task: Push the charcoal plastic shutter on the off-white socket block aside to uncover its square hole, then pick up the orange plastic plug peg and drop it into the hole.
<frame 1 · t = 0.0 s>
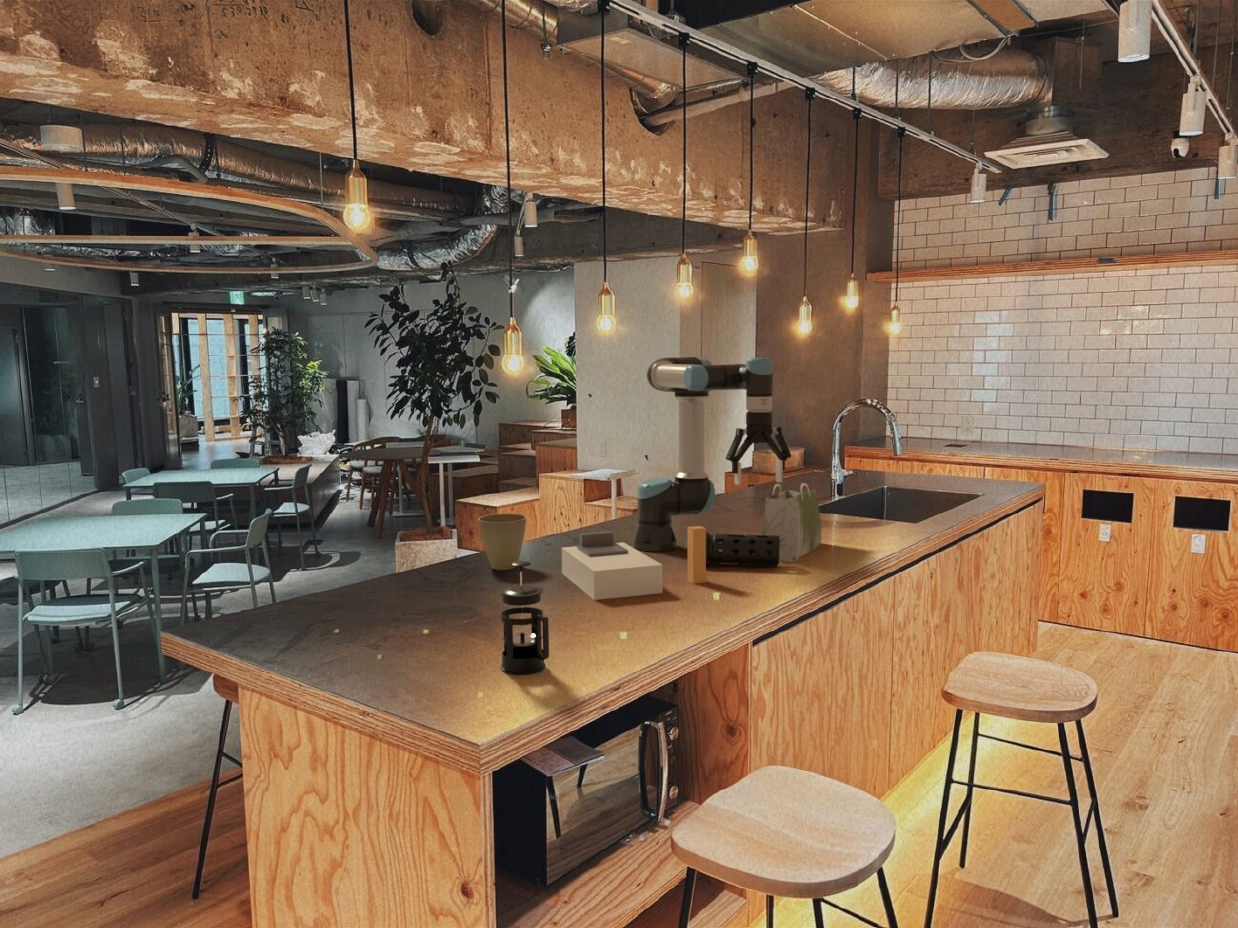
hand: (758, 483, 265), 28 cm above the table, tool pointing down, fingers open, 13 cm apart
french press: (525, 668, 193), on the table
plug peg: (696, 581, 263), on the table
socket block: (610, 582, 263), on the table
shutter: (602, 543, 268), point 10 cm above the table, slide at 0.0 cm
grocery bag: (789, 551, 303), on the table
plant pot: (503, 568, 283), on the table
muzzle brake: (733, 566, 283), on the table
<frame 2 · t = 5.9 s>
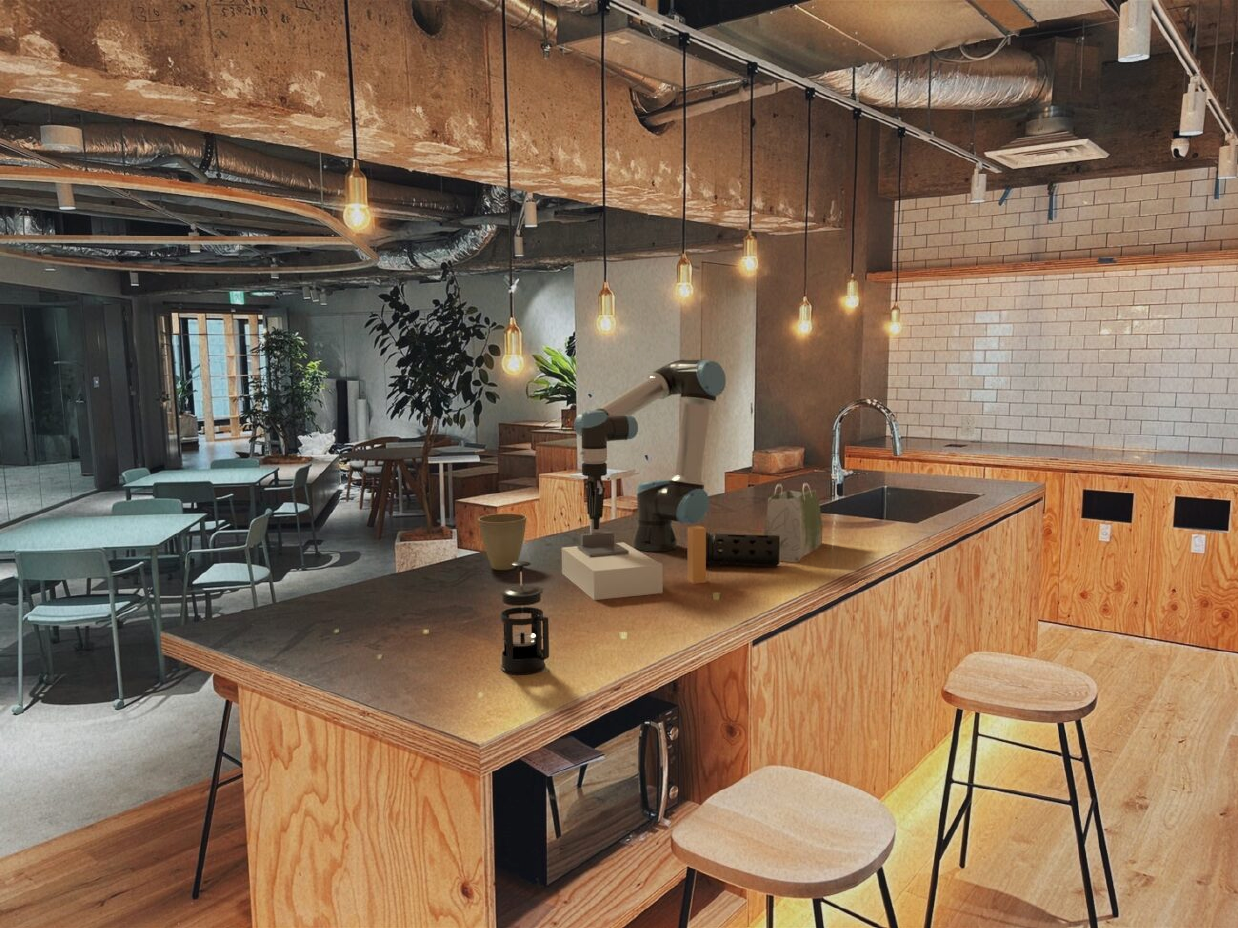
hand: (595, 539, 274), 10 cm above the table, tool pointing down, fingers closed
shutter: (602, 543, 267), point 10 cm above the table, slide at 0.6 cm, touching gripper
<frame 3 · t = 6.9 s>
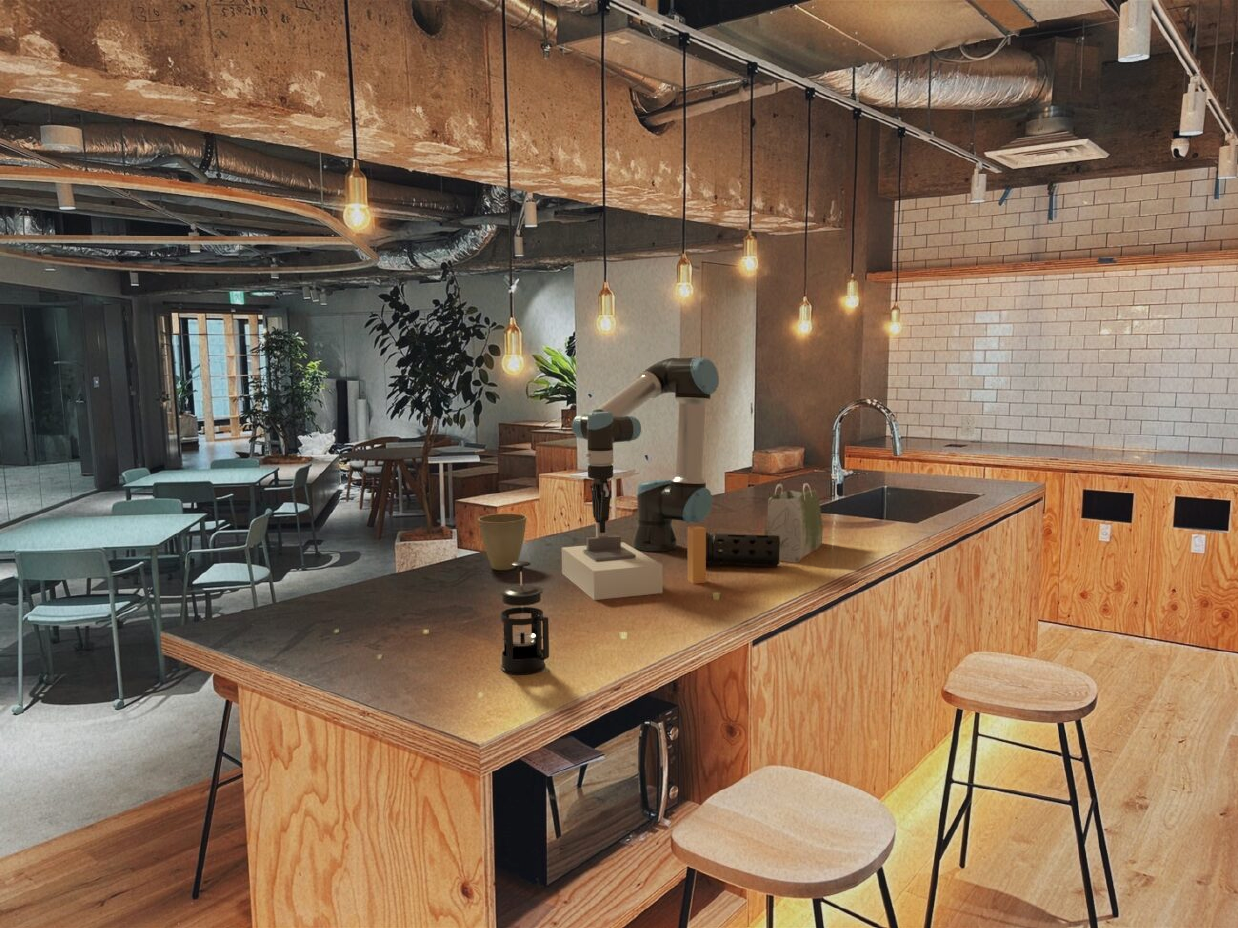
hand: (601, 542, 268), 10 cm above the table, tool pointing down, fingers closed
shutter: (609, 547, 262), point 10 cm above the table, slide at 6.5 cm, touching gripper
everything else where it was.
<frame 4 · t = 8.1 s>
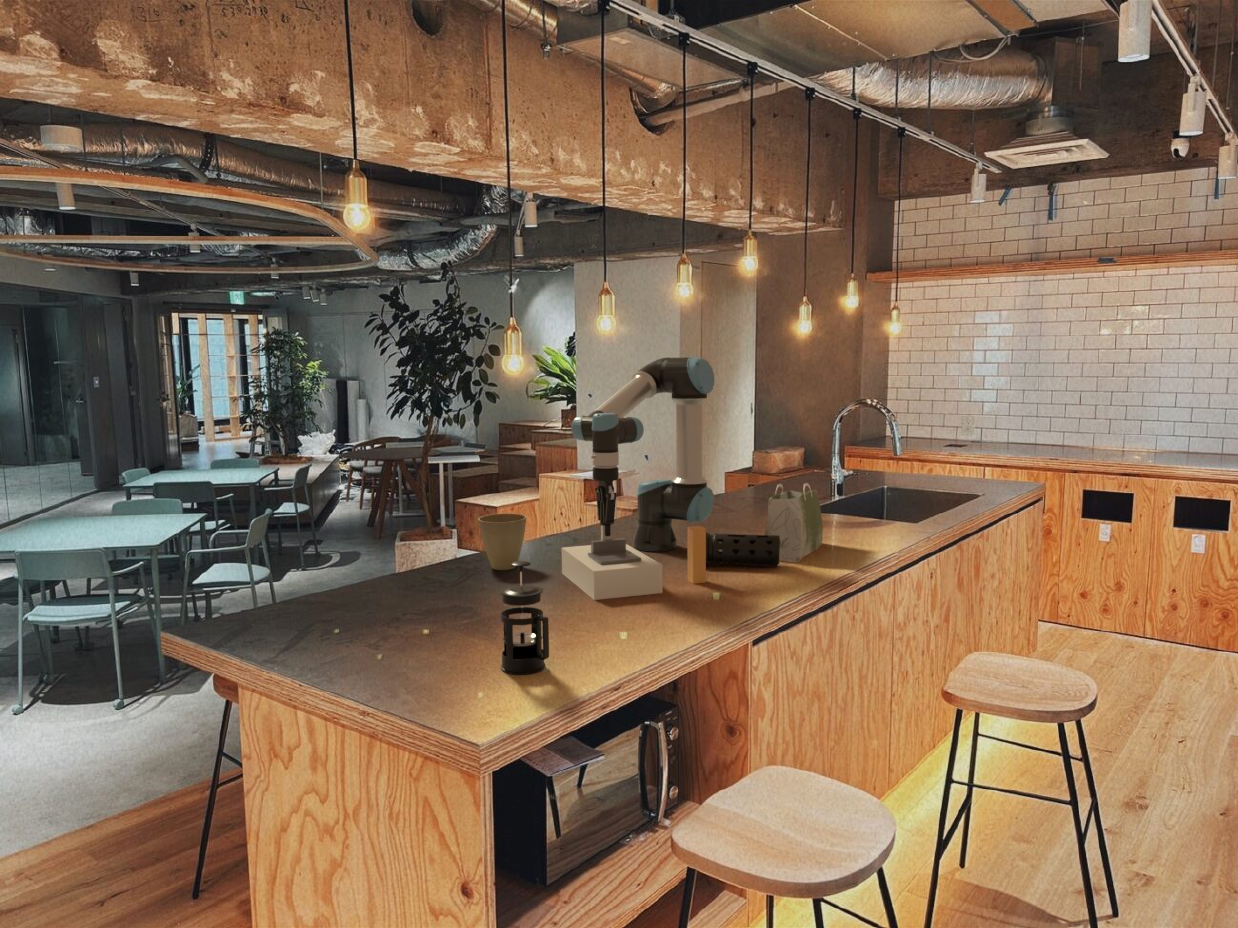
hand: (606, 546, 264), 10 cm above the table, tool pointing down, fingers closed
shutter: (614, 550, 258), point 10 cm above the table, slide at 11.0 cm, touching gripper
everything else where it was.
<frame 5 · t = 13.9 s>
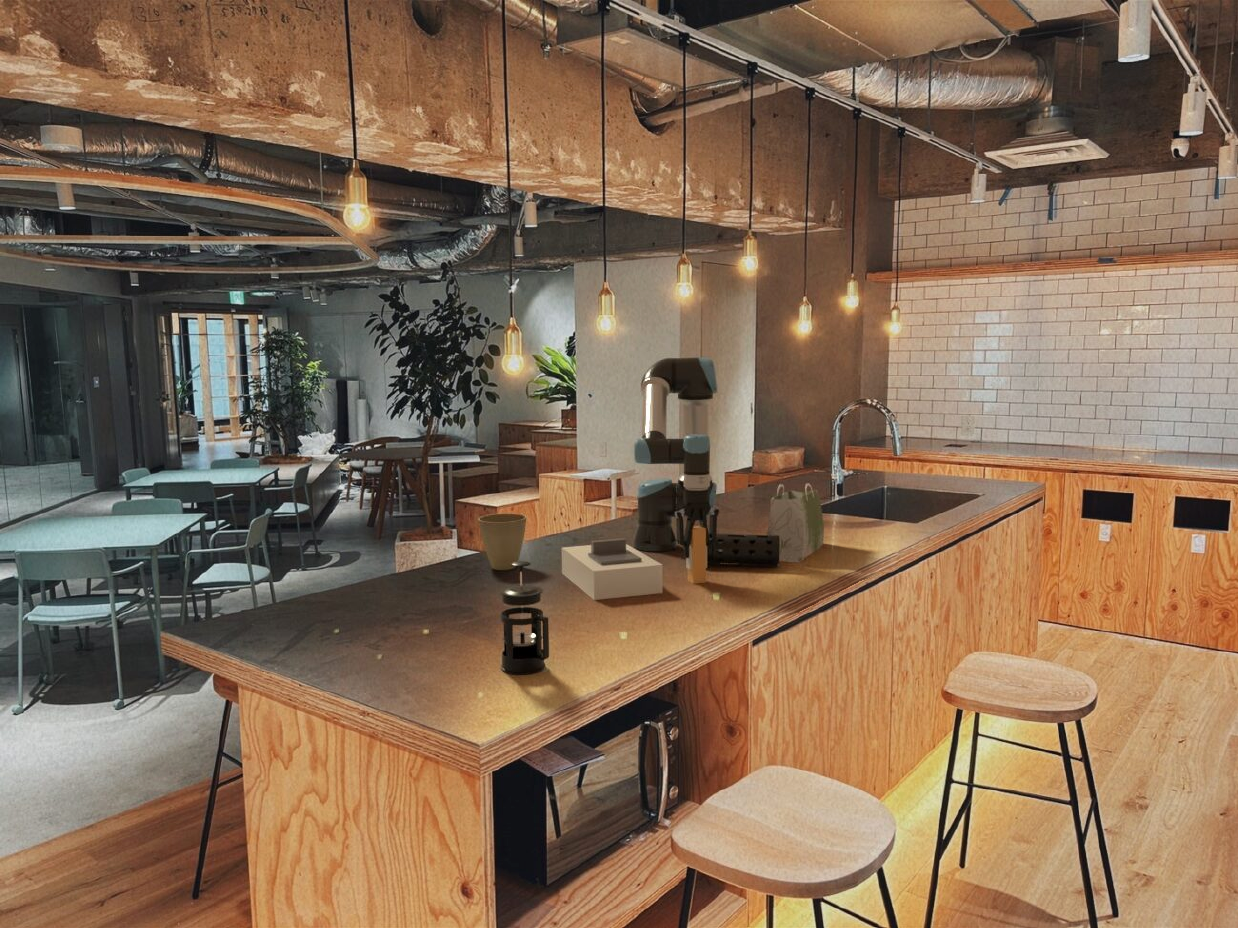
hand: (696, 567, 263), 4 cm above the table, tool pointing down, fingers closed on plug peg, 4 cm apart
plug peg: (696, 581, 263), on the table, touching gripper
shutter: (614, 550, 258), point 10 cm above the table, slide at 11.2 cm
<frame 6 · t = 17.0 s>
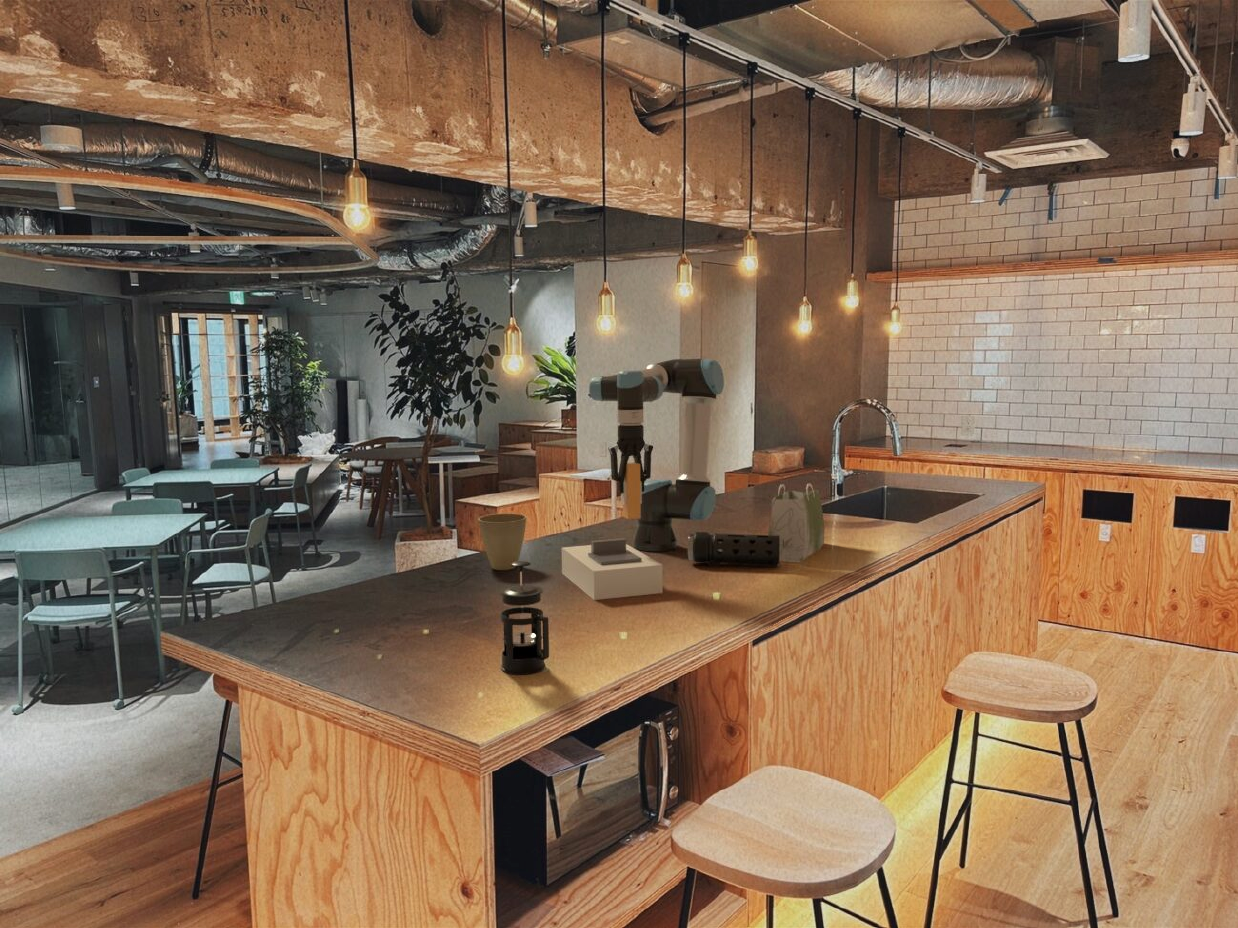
hand: (631, 503, 265), 23 cm above the table, tool pointing down, fingers closed on plug peg, 4 cm apart
plug peg: (631, 517, 265), point 18 cm above the table, touching gripper
when the fingers open (10 cm above the table, at t = 20.3 s): plug peg drops 4 cm, resting on socket block.
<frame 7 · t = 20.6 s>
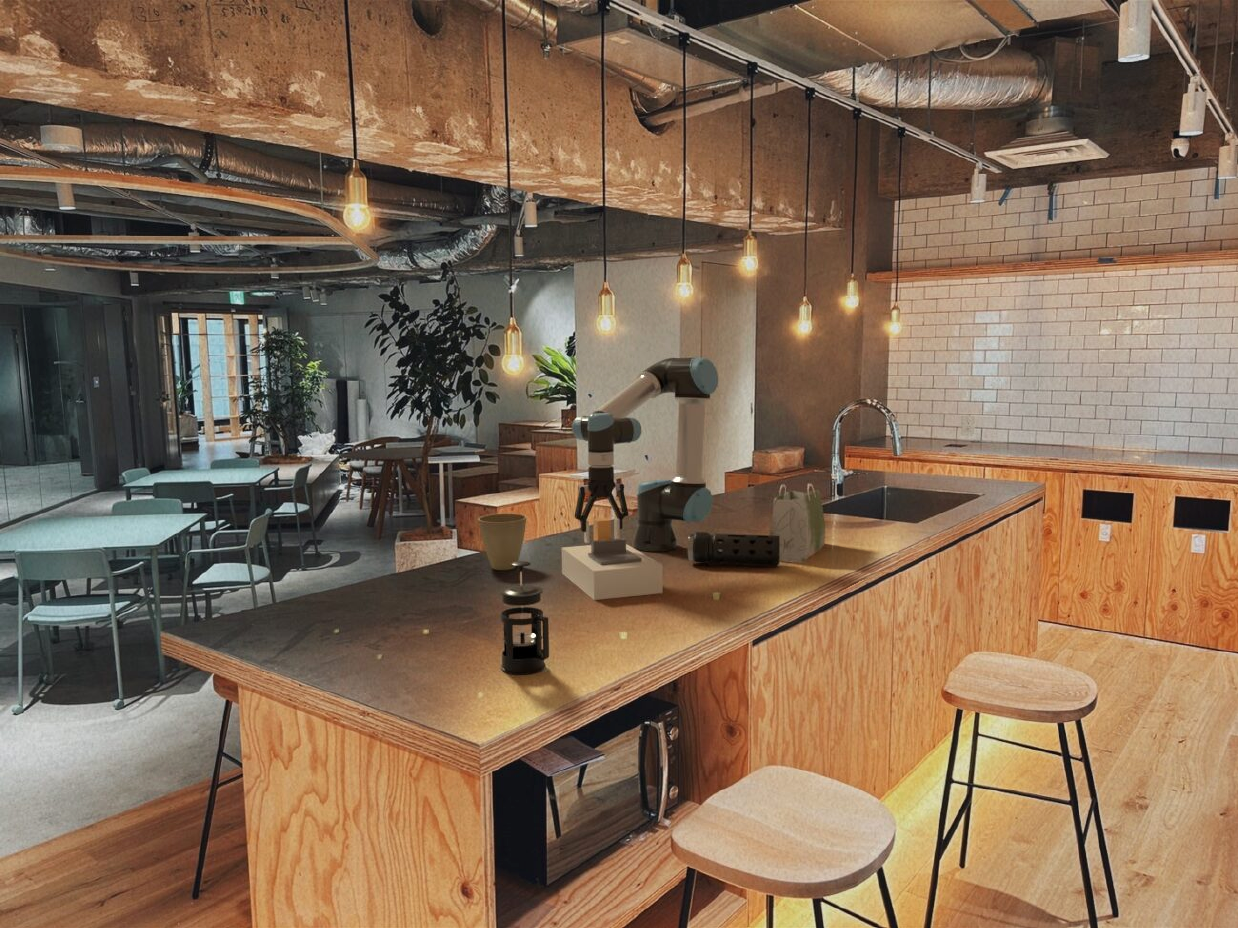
hand: (601, 541, 268), 11 cm above the table, tool pointing down, fingers open, 9 cm apart
plug peg: (602, 572, 269), point 1 cm above the table, touching socket block
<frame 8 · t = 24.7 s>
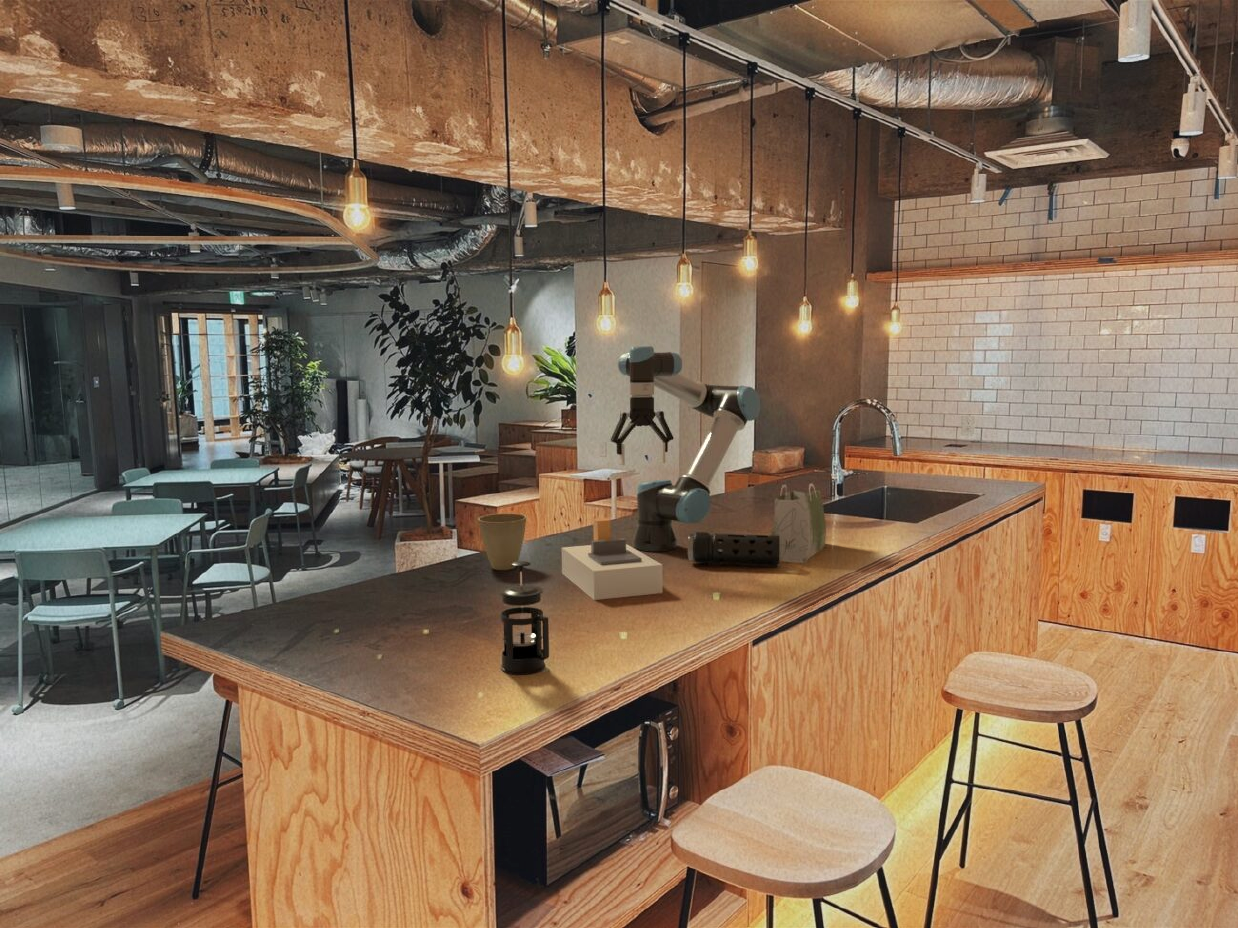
hand: (642, 463, 283), 32 cm above the table, tool pointing down, fingers open, 13 cm apart
at the end: shutter slide at 11.2 cm; plug peg 0.1 cm from the target spot, point 1.5 cm above the table; plug peg tilted 0° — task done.
